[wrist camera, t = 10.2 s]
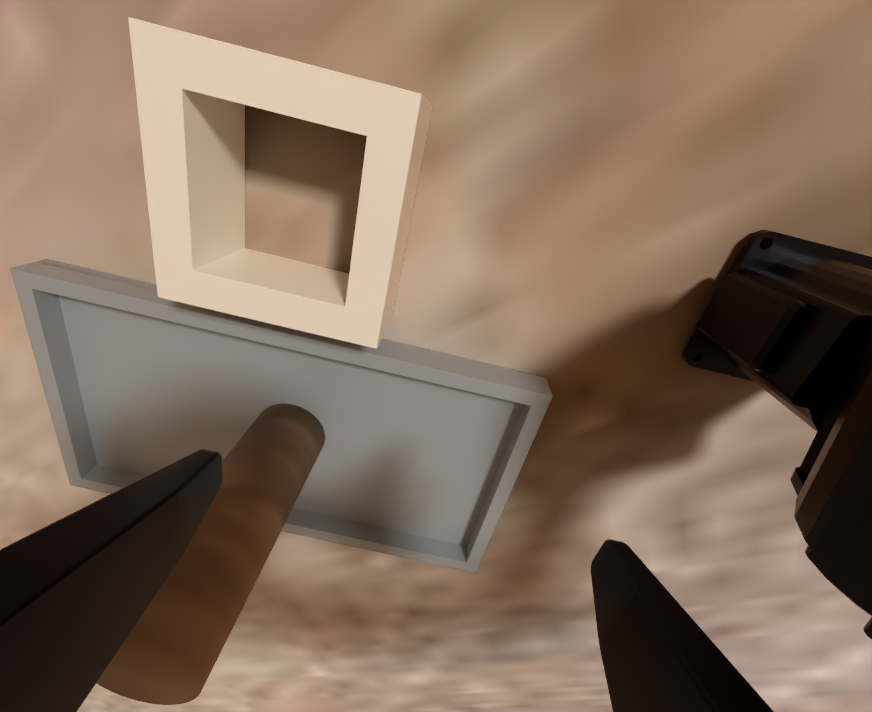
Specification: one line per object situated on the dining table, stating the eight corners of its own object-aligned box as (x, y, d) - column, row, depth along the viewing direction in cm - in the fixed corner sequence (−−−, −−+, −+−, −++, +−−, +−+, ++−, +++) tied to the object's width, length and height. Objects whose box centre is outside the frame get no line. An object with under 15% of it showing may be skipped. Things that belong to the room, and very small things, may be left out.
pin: (328, 412, 22) (198, 652, 12) (321, 465, 24) (204, 713, 13) (257, 396, 22) (59, 623, 11) (256, 450, 24) (85, 690, 13)
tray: (546, 377, 21) (552, 396, 19) (475, 548, 27) (475, 573, 26) (47, 259, 20) (9, 268, 18) (94, 464, 26) (70, 485, 25)
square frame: (432, 107, 16) (421, 93, 12) (393, 313, 20) (376, 348, 16) (206, 48, 15) (128, 17, 12) (214, 270, 20) (157, 297, 16)
